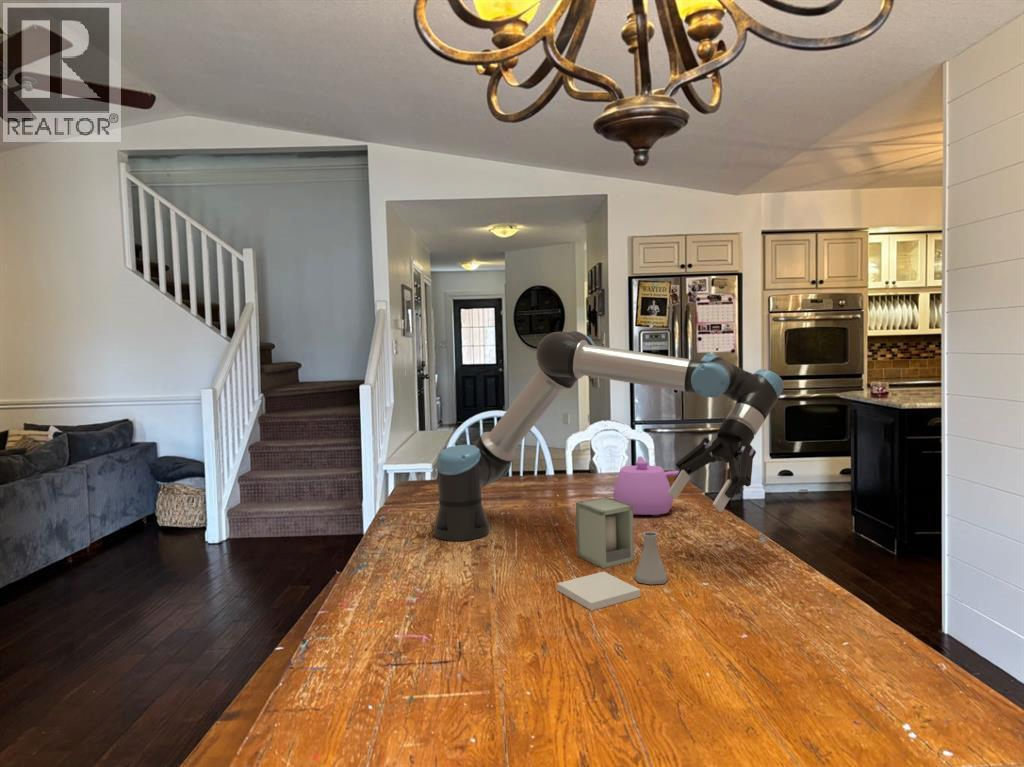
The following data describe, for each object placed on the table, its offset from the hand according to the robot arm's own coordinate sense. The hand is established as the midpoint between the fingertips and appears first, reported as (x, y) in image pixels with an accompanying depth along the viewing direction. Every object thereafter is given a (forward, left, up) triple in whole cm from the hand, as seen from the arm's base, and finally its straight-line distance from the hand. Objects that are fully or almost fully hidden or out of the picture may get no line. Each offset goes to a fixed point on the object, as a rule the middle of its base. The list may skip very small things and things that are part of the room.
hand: (693, 501), depth 140 cm
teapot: (-49, +2, -15) cm, 52 cm away
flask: (+5, -11, -15) cm, 20 cm away
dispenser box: (-10, -18, -15) cm, 25 cm away
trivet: (+11, -24, -15) cm, 30 cm away
